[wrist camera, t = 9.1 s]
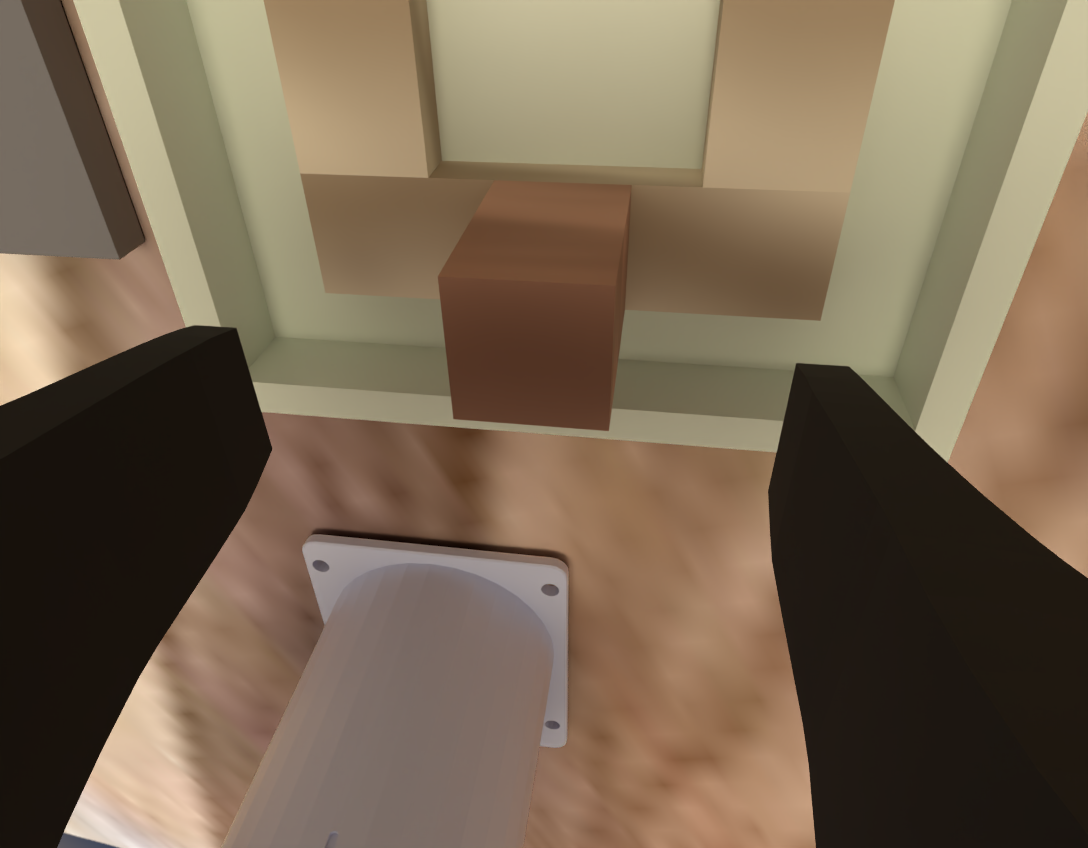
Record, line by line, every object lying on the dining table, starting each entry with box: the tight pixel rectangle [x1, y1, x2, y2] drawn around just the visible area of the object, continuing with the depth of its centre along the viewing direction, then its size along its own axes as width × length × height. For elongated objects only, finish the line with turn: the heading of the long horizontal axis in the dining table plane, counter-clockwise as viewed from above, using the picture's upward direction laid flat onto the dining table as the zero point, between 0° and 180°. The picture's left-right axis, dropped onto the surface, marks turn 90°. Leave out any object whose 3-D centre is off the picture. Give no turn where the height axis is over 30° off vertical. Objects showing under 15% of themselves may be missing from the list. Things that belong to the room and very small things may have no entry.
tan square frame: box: [264, 0, 895, 431], centre depth 11 cm, size 10×10×5 cm
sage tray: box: [73, 0, 1088, 463], centre depth 12 cm, size 16×16×2 cm
